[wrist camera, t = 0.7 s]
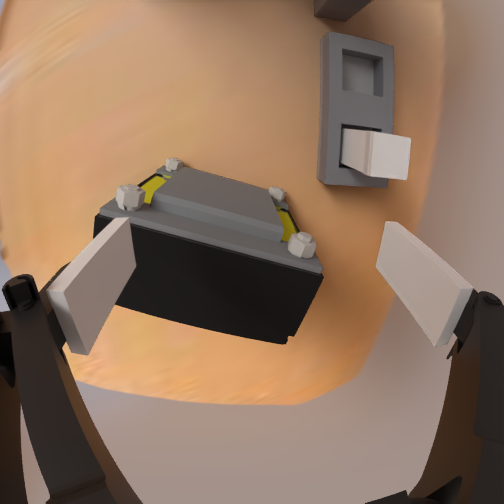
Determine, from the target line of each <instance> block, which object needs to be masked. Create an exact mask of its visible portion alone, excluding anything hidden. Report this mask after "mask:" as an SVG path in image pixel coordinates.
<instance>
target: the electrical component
mask: <svg viewBox="0 0 504 504" xmlns="http://www.w3.org/2000/svg"><path fill="white" fill-rule="evenodd" d="M183 164H184V163H183V161H181V160H180V159H177V158H169V159H167V161H166V165H165V166H162V167H161V168H159V169H157V172H156V173H155V174H153V175H152V176H150V177H149V178H147V179H146V180H144V181H143V182H141V183H140V184H139V185H132V184H128V185H122V186H120V187H118V188H117V194H116V197H115V198H114V199H112V200H111V201H109V202H108V203H107V204H105V205H104V206H102V207H101V208H100V213H99V214H97V215H96V216H95V222H94V233H93V239H94V238H95V237H96V236H97V235H98V234H99V233H100V232H101V231H102V230H103V229H104V228H105V227H106V226H107V225H108V224H109V223H111V222H112V221H113V220H114V219H115V218H124V217H129V221H130V228H131V236H132V243H133V249H134V256H135V262H136V268H135V269H134V271H133V273H132V274H131V276H130V278H129V280H128V281H127V283H126V285H125V287H124V288H123V290H122V292H121V294H120V295H119V297H118V299H117V301H116V303H115V305H118V306H121V307H125V308H128V309H131V310H135V311H138V312H142V313H145V314H149V315H152V316H156V317H160V318H163V319H167V320H171V321H175V322H179V323H183V324H187V325H191V326H195V327H199V328H203V329H208V330H212V331H216V332H221V333H225V334H230V335H235V336H240V337H245V338H250V339H255V340H260V341H265V342H271V343H276V344H282V345H283V344H286V343H287V341H288V339H287V338H288V336H293V337H294V336H295V334H296V332H297V330H298V328H299V326H300V324H301V322H302V320H303V318H304V317H305V315H306V313H307V311H308V309H309V307H310V305H311V303H312V301H313V299H314V297H315V295H316V293H317V291H318V289H319V287H320V285H321V283H322V280H323V278H324V277H323V275H322V273H321V272H322V270H323V267H322V265H321V263H320V261H319V259H318V257H317V256H316V254H315V252H314V251H315V249H316V243H315V241H314V240H313V238H314V237H313V236H311V235H310V234H308V233H305V232H302V231H301V232H300V231H299V229H298V227H297V225H296V223H295V222H294V220H293V218H292V216H291V214H290V212H289V211H288V208H289V206H288V204H287V203H286V201H285V200H284V197H285V194H286V192H285V191H284V190H283V189H282V188H279V187H276V186H275V187H270V188H269V191H268V190H266V189H263V188H260V187H256V186H253V185H250V184H246V183H243V182H239V181H236V180H232V179H229V178H225V177H222V176H218V175H215V174H211V173H207V172H203V171H200V170H196V169H192V168H188V167H183ZM182 167H183V168H182Z"/></svg>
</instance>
